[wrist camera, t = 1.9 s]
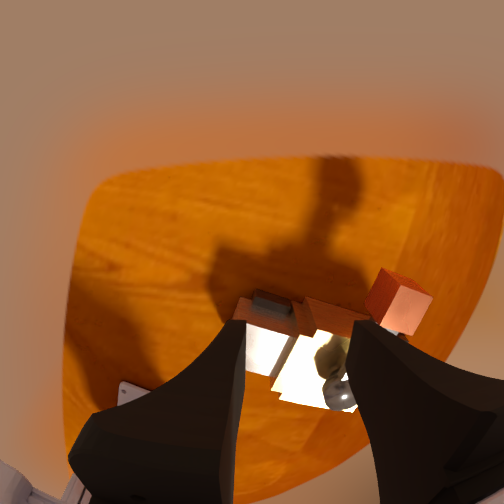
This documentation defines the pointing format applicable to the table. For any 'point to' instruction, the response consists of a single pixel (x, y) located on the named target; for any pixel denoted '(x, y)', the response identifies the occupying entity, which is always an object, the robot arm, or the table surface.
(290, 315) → the valve
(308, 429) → the table surface
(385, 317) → the lever
